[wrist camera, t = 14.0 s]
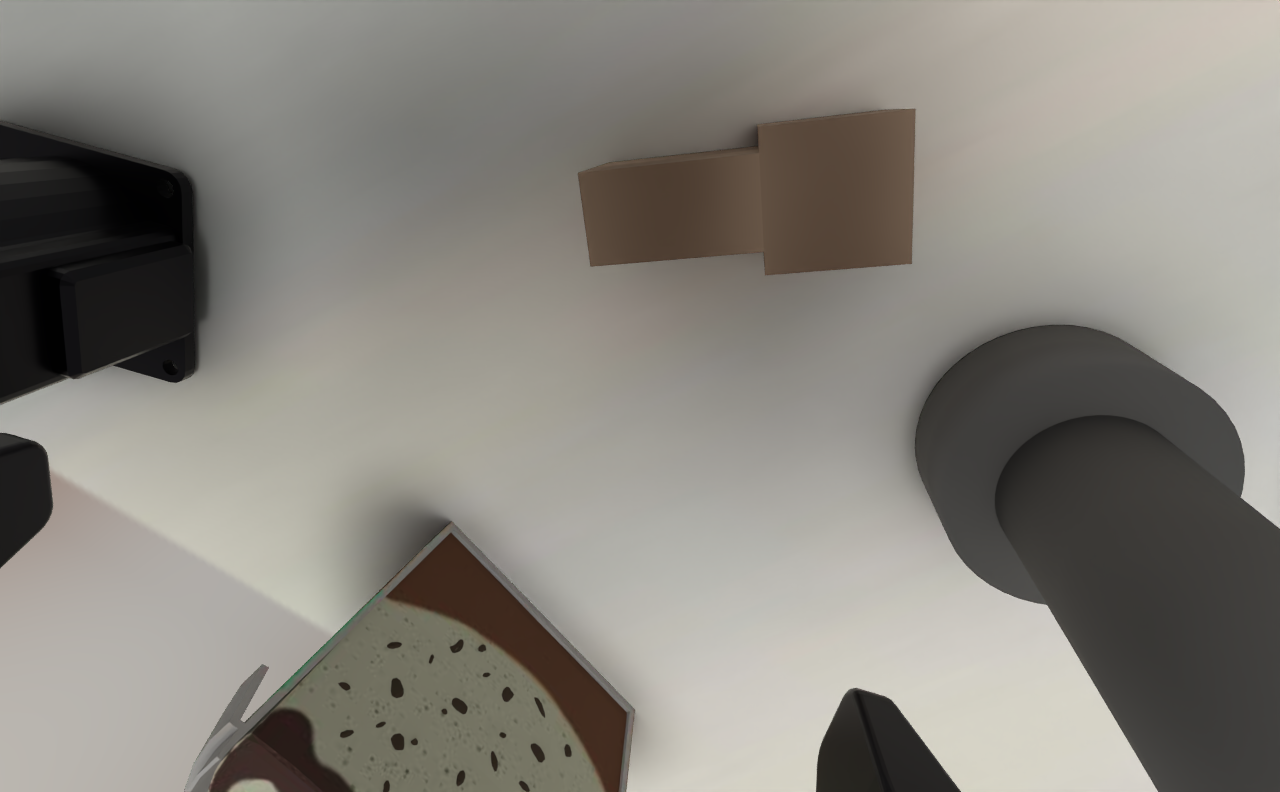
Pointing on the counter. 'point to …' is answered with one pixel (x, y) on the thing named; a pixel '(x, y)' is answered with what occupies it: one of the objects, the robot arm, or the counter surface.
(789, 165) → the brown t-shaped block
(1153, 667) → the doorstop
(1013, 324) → the counter surface
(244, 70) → the counter surface
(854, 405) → the counter surface
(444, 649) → the food container
